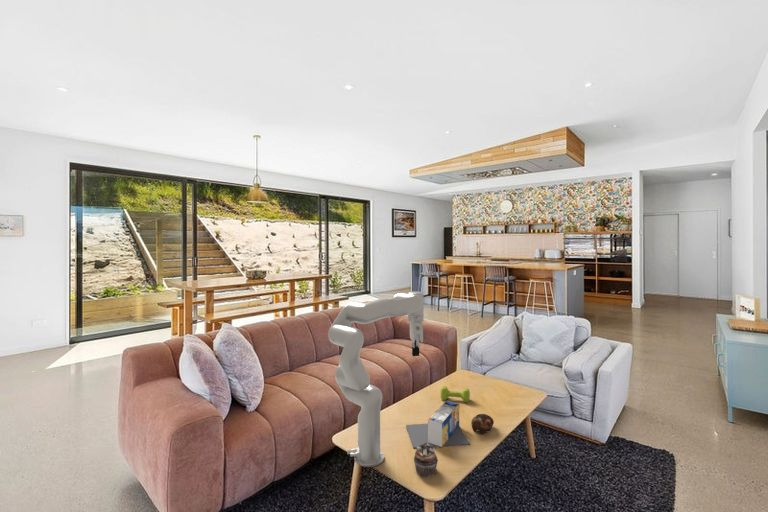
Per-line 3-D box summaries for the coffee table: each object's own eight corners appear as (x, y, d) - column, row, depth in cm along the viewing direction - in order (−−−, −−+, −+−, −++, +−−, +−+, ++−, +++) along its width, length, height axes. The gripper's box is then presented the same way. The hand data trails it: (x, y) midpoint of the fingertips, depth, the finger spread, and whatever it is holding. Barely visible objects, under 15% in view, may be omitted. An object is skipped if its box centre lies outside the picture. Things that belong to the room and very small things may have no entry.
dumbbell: (469, 398, 217) (469, 386, 217) (469, 404, 209) (469, 392, 209) (441, 395, 221) (441, 384, 221) (439, 401, 214) (439, 389, 213)
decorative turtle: (465, 433, 179) (465, 416, 179) (480, 424, 190) (480, 408, 190) (484, 440, 172) (484, 422, 172) (498, 429, 183) (498, 413, 183)
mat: (413, 448, 166) (413, 447, 166) (405, 426, 186) (405, 424, 186) (470, 444, 169) (470, 443, 169) (456, 422, 189) (456, 421, 189)
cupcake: (408, 470, 151) (408, 446, 150) (424, 460, 157) (424, 437, 157) (427, 481, 144) (427, 456, 143) (442, 470, 150) (442, 446, 150)
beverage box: (427, 419, 169) (446, 400, 188) (427, 442, 170) (446, 422, 188) (442, 423, 166) (459, 403, 184) (442, 447, 166) (459, 425, 185)
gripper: (426, 320, 172) (426, 360, 173) (420, 314, 186) (420, 350, 187) (410, 321, 171) (410, 361, 172) (405, 314, 186) (405, 351, 187)
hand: (415, 355), depth 180 cm, fingers closed
